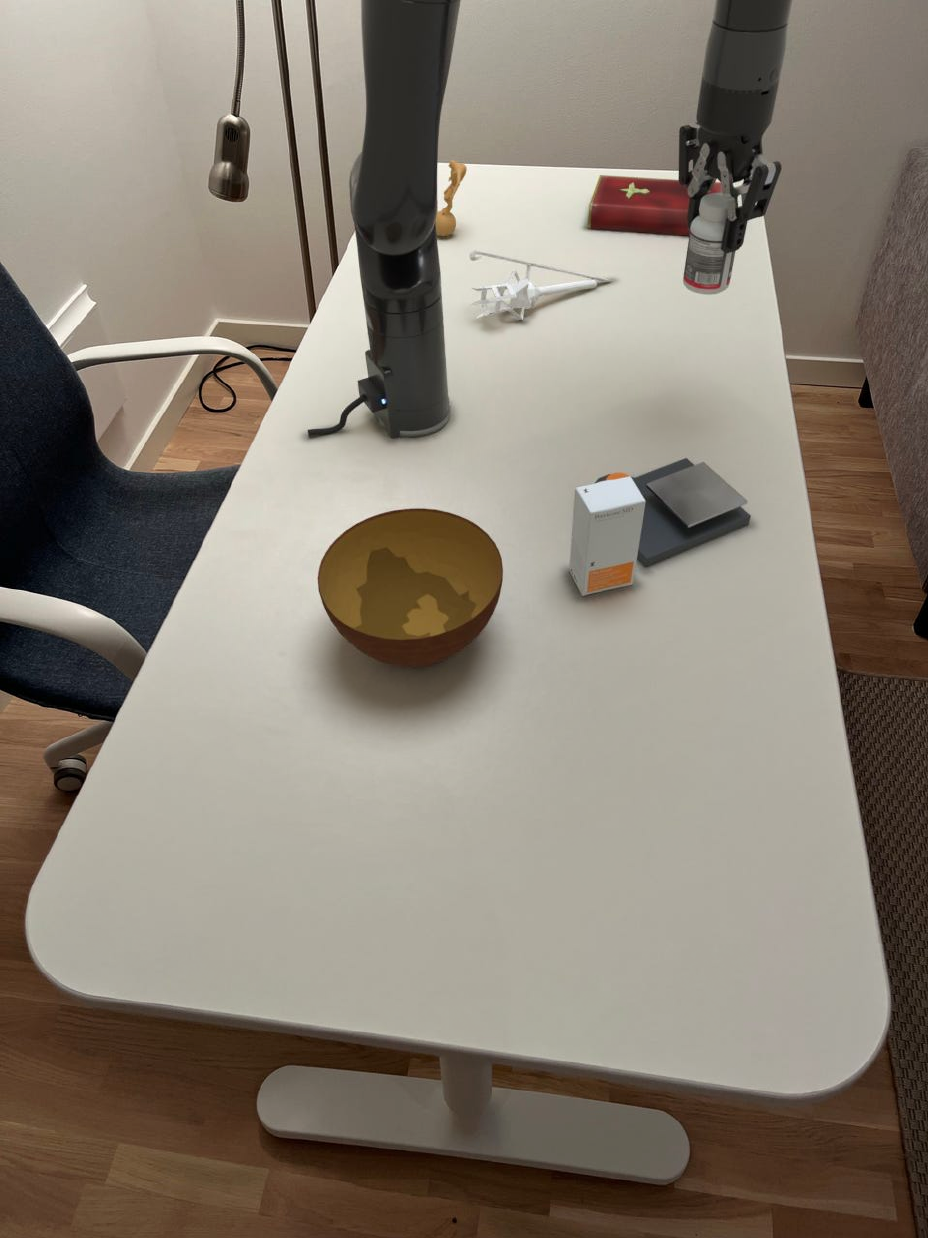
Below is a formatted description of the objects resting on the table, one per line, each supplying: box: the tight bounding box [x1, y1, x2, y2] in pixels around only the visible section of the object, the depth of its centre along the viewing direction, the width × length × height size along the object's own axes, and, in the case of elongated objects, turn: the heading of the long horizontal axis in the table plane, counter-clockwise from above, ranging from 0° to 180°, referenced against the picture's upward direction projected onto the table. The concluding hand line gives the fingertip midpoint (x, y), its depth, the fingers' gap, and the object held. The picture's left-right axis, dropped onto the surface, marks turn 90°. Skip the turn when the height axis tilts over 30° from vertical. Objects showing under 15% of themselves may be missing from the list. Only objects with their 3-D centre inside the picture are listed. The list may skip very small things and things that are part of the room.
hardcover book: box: [587, 174, 722, 237], centre depth 155 cm, size 12×21×4 cm, turn 76°
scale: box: [593, 457, 752, 568], centre depth 106 cm, size 14×12×3 cm
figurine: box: [436, 159, 468, 237], centre depth 151 cm, size 8×6×12 cm
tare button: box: [606, 472, 630, 480], centre depth 105 cm, size 3×3×2 cm
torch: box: [468, 249, 612, 321], centre depth 137 cm, size 6×9×25 cm
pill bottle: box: [682, 193, 737, 296], centre depth 105 cm, size 5×5×10 cm
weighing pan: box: [646, 461, 749, 528], centre depth 104 cm, size 8×8×1 cm
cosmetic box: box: [568, 475, 646, 597], centre depth 96 cm, size 6×4×12 cm
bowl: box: [317, 507, 504, 668], centre depth 92 cm, size 18×18×10 cm
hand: (713, 238), depth 104 cm, fingers closed on pill bottle, 5 cm apart
